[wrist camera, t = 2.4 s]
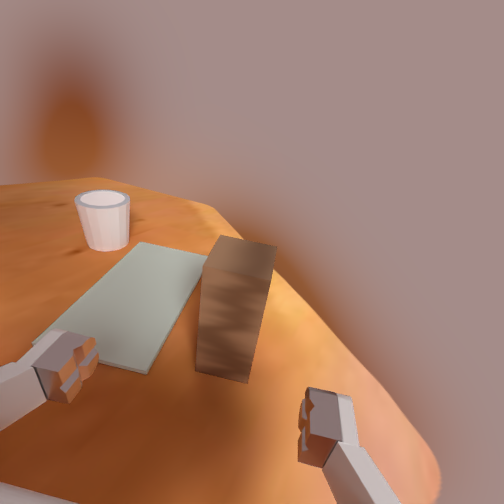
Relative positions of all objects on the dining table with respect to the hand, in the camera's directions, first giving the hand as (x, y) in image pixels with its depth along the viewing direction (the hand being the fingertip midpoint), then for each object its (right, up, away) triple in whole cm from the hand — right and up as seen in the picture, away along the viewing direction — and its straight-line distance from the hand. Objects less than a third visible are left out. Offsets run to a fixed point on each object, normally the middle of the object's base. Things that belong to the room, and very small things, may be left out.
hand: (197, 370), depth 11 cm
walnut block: (0, -6, +18) cm, 19 cm away
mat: (-11, 0, +24) cm, 26 cm away
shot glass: (-20, +6, +32) cm, 38 cm away
